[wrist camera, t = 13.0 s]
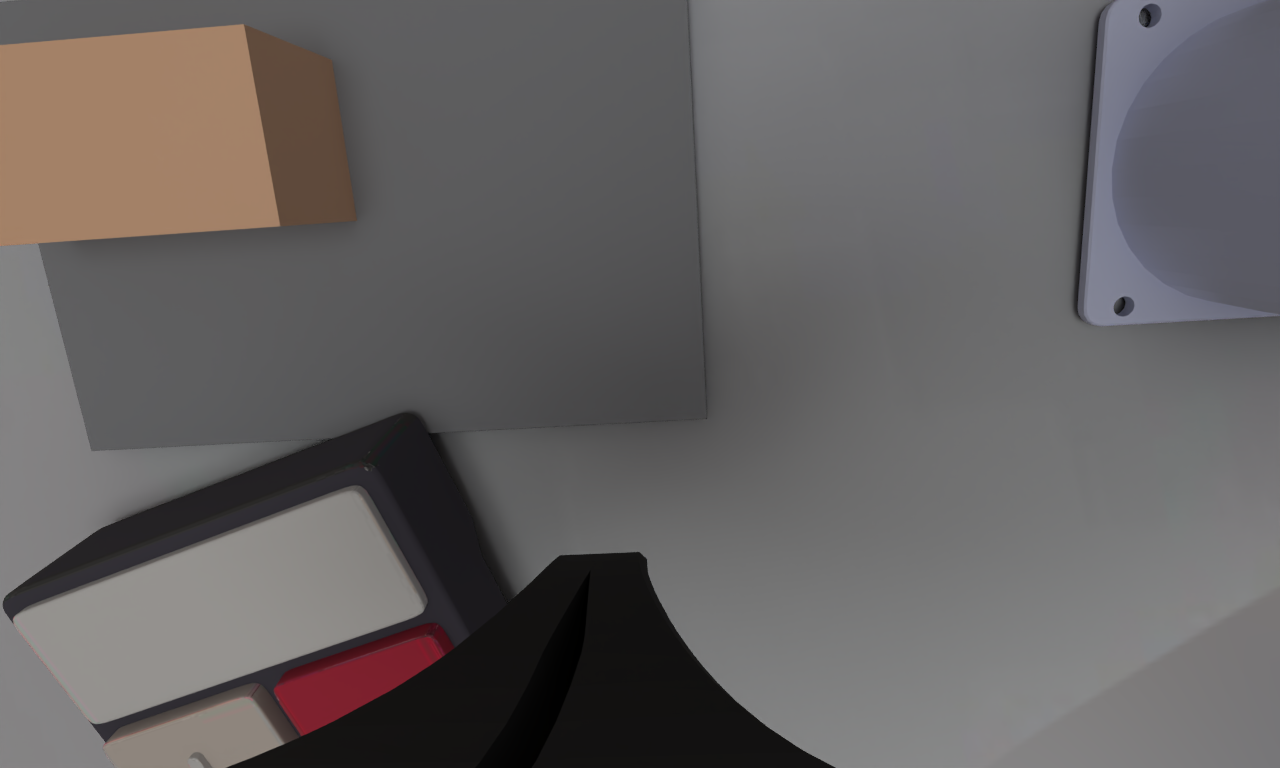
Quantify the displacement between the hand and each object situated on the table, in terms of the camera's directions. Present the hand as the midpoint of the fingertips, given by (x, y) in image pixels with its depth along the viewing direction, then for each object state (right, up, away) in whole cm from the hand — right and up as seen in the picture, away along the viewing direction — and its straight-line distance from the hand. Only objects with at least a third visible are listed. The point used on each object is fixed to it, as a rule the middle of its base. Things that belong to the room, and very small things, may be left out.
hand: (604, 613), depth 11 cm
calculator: (-8, -6, +12) cm, 16 cm away
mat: (-7, +8, +9) cm, 14 cm away
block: (-7, +9, +6) cm, 13 cm away
